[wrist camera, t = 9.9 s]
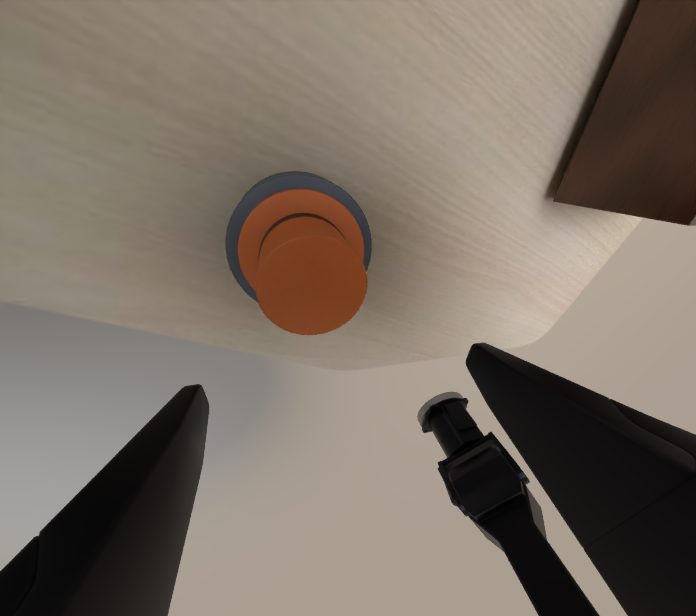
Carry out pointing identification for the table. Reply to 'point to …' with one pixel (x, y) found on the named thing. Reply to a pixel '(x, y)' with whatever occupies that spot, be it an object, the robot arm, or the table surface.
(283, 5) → the table surface
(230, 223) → the stand
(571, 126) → the table surface
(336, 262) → the orange top hat
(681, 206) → the brown lidded box
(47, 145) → the table surface
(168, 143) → the table surface
